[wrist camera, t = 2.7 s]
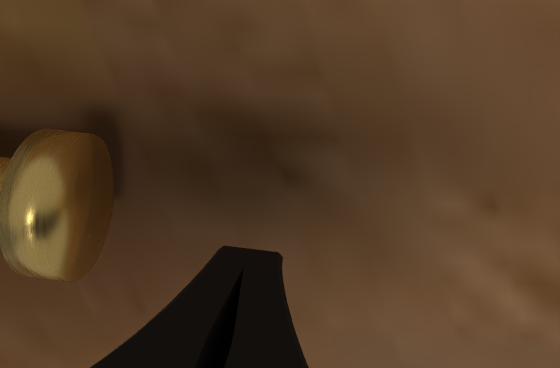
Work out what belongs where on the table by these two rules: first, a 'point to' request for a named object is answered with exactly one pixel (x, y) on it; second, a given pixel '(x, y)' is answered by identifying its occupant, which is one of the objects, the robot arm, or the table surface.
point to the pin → (55, 204)
